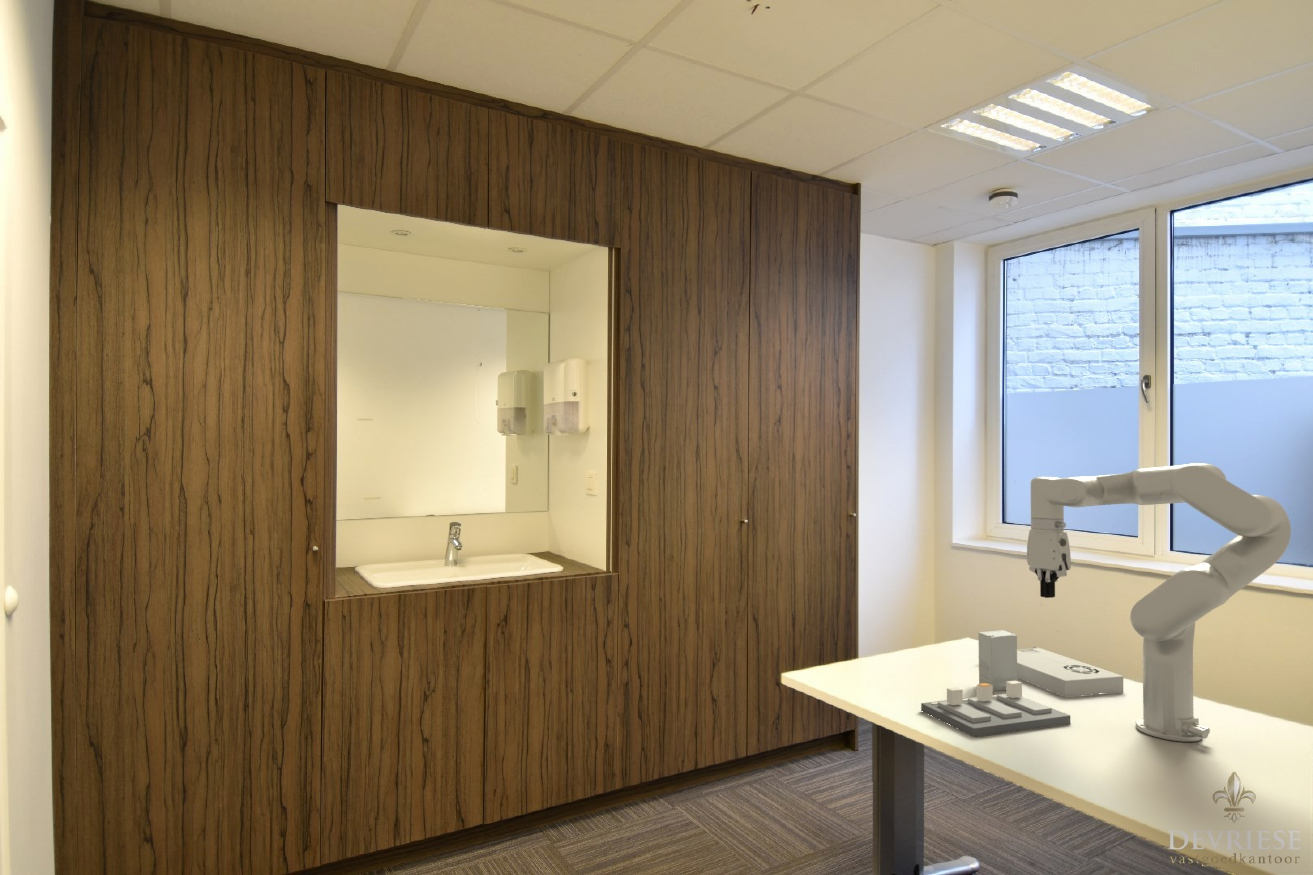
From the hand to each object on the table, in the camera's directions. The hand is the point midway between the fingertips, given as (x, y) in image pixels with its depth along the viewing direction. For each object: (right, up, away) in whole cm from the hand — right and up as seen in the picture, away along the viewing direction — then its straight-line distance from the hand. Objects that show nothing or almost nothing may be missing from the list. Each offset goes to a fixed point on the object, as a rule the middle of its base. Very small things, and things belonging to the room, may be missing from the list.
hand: (1047, 596), depth 191 cm
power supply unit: (+12, -29, +23) cm, 39 cm away
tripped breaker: (-20, -23, -8) cm, 32 cm away
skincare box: (-7, -28, +13) cm, 31 cm away
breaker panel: (-19, -27, -11) cm, 35 cm away
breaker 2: (-11, -24, -5) cm, 27 cm away
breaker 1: (-28, -23, -11) cm, 38 cm away
